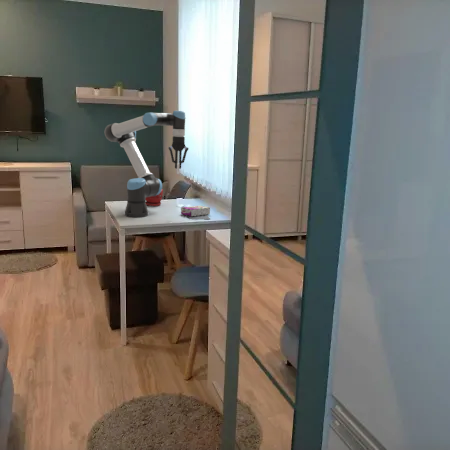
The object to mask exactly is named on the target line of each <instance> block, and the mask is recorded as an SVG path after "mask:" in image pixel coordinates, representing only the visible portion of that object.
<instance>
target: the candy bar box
mask: <svg viewBox="0 0 450 450" xmlns="http://www.w3.org/2000/svg"><path fill="white" fill-rule="evenodd" d="M210 211H211V207H209V206H205V205H204V206H203V205H195V206H194V205H193V206H182V207H180V215H182V216H187V217H188V216H191V217H192V216H200V215H208V216H209V215H211V212H210Z"/></svg>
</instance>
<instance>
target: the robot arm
mask: <svg viewBox="0 0 450 450" xmlns="http://www.w3.org/2000/svg"><path fill="white" fill-rule="evenodd" d="M155 126H162V127H163V126H165V127H166V126H169V127H172V143H171V145H170V146H168V147H167V148H168V150H169V154H170V157H171V158H170V159H171V162H172V163H173V164H174V168H175V169H176V175H180V169H182V164H184V163H185V160H186V156H187V153H188V151H189V147H187V146H186V144H185V142H186V141H185V140H186V139H185V138H186V137H185V135H186V133H185V132H186V128H185V127H186V112H185V111H184V110H173V112H172V113H168V112H152V111H151V112H145V113H144V114H143V115H141V116H138V117H135V118H131V119H129V120H126V121H125V120H124V121H123V122H120V123H117V122H114V123H111V124H108V125H106V126H105V128H104V132H103V133H104V136H105V138H106V140H108V141H110V142H111V143H112V142H114V143H118V144H119V146H120V148H123V149H124V151H125V153H126V155H127V158H128V159H129V161H130V164H131V165H132V167H133V169H134V172H135V173H136V175H137V177H136V178H135V177H134V178H130V179H128V181H127V183H126V184H127V186H126V198H127V200H126V201H127V203H126V206H125V209H124V216H126V217H129V216H130V218H142V217H143V218H144V217H147V216H149V209H148V207H147V206H148V205H146V197H151V196H156V195H158V194H160V192H161V191H162V190H163V182H162V180H161V179H160V178H157V177H156V176H155V174H154V173H152V172H151V171H150V170H149V167H148V165H147V163H146V162H145V160H144V157H143V155H142V153H141V152H140V150H139V147H138V145H137V143H136V140H137V131H140V130H144V129H146V128H151V127H155ZM173 150H174V153H173ZM182 151H183V156H182Z"/></svg>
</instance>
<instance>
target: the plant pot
mask: <svg viewBox="0 0 450 450" xmlns="http://www.w3.org/2000/svg"><path fill="white" fill-rule="evenodd" d="M163 194H164V189H162V191H161V192H160V194H158V195H156V196H151V197H146V206H149V207H157V206H161V204H162V199H163Z"/></svg>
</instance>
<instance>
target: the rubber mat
mask: <svg viewBox="0 0 450 450" xmlns="http://www.w3.org/2000/svg"><path fill="white" fill-rule="evenodd" d="M188 218H189V220H190V219H204V220H211V218H210V217H209V214H208V215H200V216H192V217H191V216H189V217H188Z"/></svg>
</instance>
